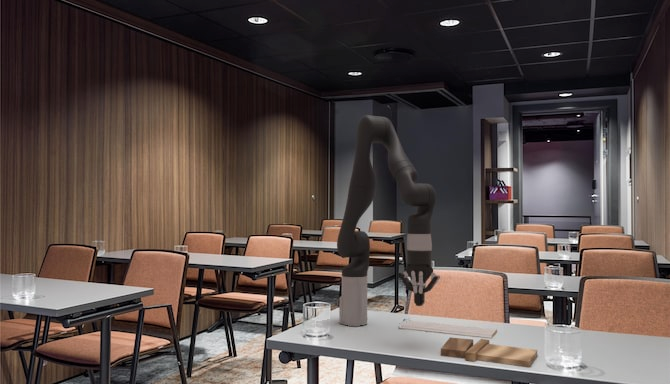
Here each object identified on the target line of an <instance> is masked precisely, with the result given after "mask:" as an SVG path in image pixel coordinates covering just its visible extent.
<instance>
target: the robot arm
mask: <svg viewBox="0 0 670 384" xmlns="http://www.w3.org/2000/svg"><path fill="white" fill-rule="evenodd" d="M372 144H381V145H383V146H384V147H385V149H386V150H387V153H388V154H387V155H388V156H387V165H388V169H389V171H390V173H391V174H392V176H393V178H394V179H395V181H396V183H397V186H398V190H399V194H400V198H401V200H402V201H403V203H404V204H406V205H407V206H409V207H417V210H416V212H415V213H412V214H410V215H409V216H408V217H407V238H406V267H405V270H404V272H402V273H400V274H398V277H399V279H400V280H401V282H402V283H403V284H404V285H405V287H406V289H407V290H408V291H409V292H410V291H411V292H412V293H413V302H414V305H415V306H416V307H423V305H424V304H425V303H426V302H425V295H426V294H425V293H428V292H431V290H432V289H433V288H434V287H435V285H436V284H437V283H438V282H439V280H440V279H441V277H440V275H437V274H436V273H435V272H434V268H433V266H432V265H433V264H432V263H433V261H432V260H433V258H432V256H433V255H432V251H433V250H432V249H433V244H432V234H431V233H432V231H431V230H432V229H431V227H432V225H431V222H432V218H433V212H434V208H435V204H436V201H437V192H436V189H435V188H434V187H433V185H432V184H430V183H420V182H419V183H416V182H417V181H418V179H419V174H418V171H417V170H416V168H415V166H414V165H413V163H412V162H411V160H410V159H409V157H408V155H406V153H405V151H404V148H403V146H402V143H401V141H400V138H399V137H398V134H397V132H396V129H395V127H394V125H393V123H392V121H391V120H390V119H389V118H387V117H385V116H379V115H378V116H376V115H369V114H367V115H363V116H362V117H361V118H360V120H359V121H358V125H357V132H356V142H355V149H354V150H355V153H354V158H353V159H354V160H353V166H352V171H351V176H350V181H349V185H348V191H347V199H346V205H345V210H344V213H343V218H342V221H341V225H340V229H339V233H338V236H337V241H336V249H337V253H338V255H339V256H340V257H342V258H352V261H351V262H350V263H348V264H347V265H345V266H343V267H342V269H341V296H339V298H338V299H339V305H338V306H339V307H338V308H339V309H338V311H339V324H341V325H342V326H343V325H344V326H347V325H348V327H360V325H363V326H365V324H366V325H367V324H368V272H369V271H368V270H369V267H370V252H371V244H370V237H369V235H368V233H367V232H365V231H363V230H356V227H357V225H358V223H359V221H360V219H361V217H362V216H363V215H364V214H365V213H366V211H367V210H368V209H369V207H370V206H371V205H372V203H373V201H374V198H375V194H376V189H377V176H376V173H375V170H374V168H373V167H374V166H373V165H372V162H371V161H372V160H371V149H372V148H371V147H372ZM428 280H430V282H428V284H427V281H428Z"/></svg>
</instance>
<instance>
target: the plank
mask: <svg viewBox="0 0 670 384" xmlns="http://www.w3.org/2000/svg"><path fill="white" fill-rule="evenodd" d="M473 345H474V339H471V338H461V337H449V338H448V339H447V340H446V342H445V343H444V344H443V345H442V346H441V348H440V356H441V357H448V358H457V359H465V352H466V351H467V350H469V349H470V348H471V347H472V346H473Z"/></svg>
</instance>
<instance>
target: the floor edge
mask: <svg viewBox="0 0 670 384" xmlns="http://www.w3.org/2000/svg"><path fill="white" fill-rule="evenodd" d="M537 357H538V349H532V348H524V347H518V346H516V347H515V346H509V345H508V346H507V345H500V344H494V343H490V339H487V338H480V339H479V340H478V341H476V342H475V343H473V346H472V347H471V348H470V349H469V350H467V351H466V352H465V358H464V359H465V361H469V362H475V361H484V362H490V363H497V364H502V365H503V364H504V365H512V366H517V367H525V368H531V366H532V364H533V362H535V360H536V358H537Z"/></svg>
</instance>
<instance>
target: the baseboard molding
mask: <svg viewBox="0 0 670 384" xmlns="http://www.w3.org/2000/svg"><path fill="white" fill-rule="evenodd" d="M403 322H404V323H403ZM399 330H408V331H417V332H425V333H434V334H444V335H453V336H454V335H455V336H461V337H462V336H463V337H472V338H480V339H488V340H490V339H491V340H492V339H493V337H494V336H495V335H496V333H497V332H498V328H488V327H478V326H477V327H476V326H469V325H457V324H449V323H441V322H439V323H437V322H429V321H421V320H420V321H419V320H410V319H408V321H407V319H406V318H404V319H403V320H402V324H400V326H399Z"/></svg>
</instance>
